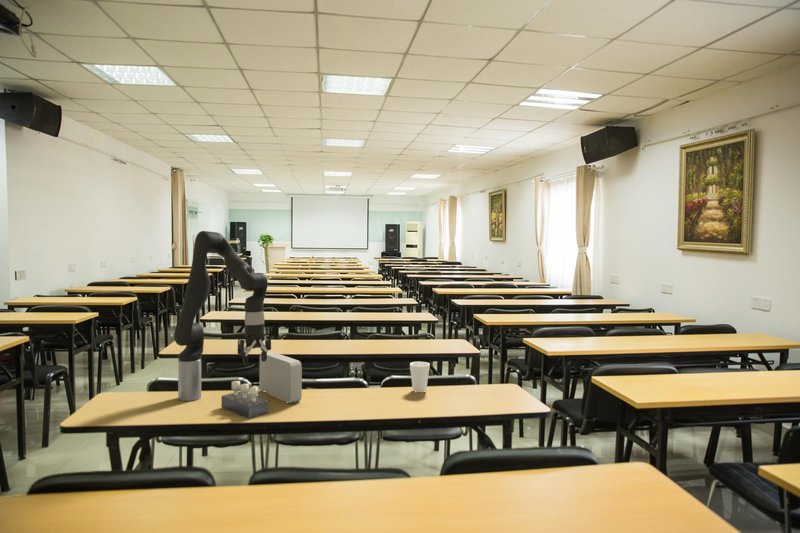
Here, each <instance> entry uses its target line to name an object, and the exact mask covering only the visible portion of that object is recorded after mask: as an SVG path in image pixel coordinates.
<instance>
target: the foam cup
mask: <svg viewBox="0 0 800 533" xmlns="http://www.w3.org/2000/svg"><path fill="white" fill-rule="evenodd" d="M430 369H431V366H430V363H429V362H426V361H412V362H410V363H409V370H410V376H411V377H410V378H411V386H412V391H413V390H414V391H416V392H424V391H426V392H427V387H428V379H429V373H430ZM416 392H415V393H416Z"/></svg>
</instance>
